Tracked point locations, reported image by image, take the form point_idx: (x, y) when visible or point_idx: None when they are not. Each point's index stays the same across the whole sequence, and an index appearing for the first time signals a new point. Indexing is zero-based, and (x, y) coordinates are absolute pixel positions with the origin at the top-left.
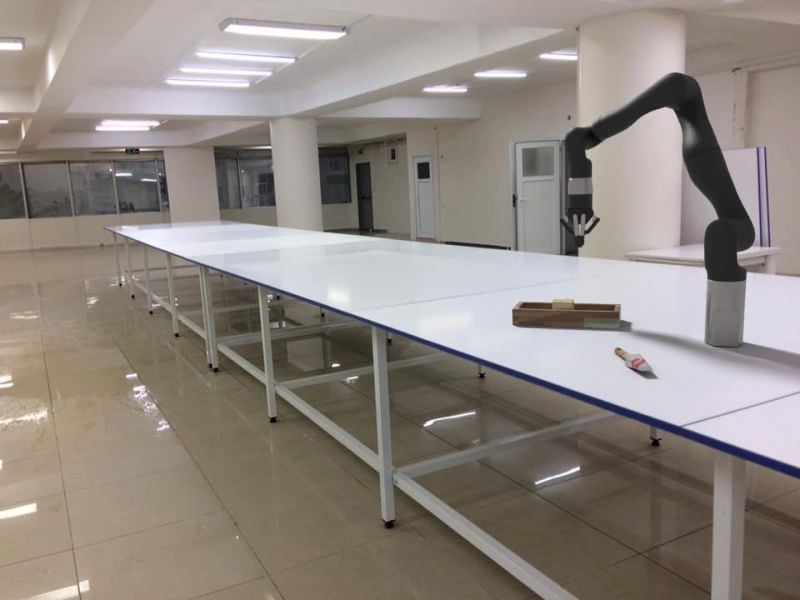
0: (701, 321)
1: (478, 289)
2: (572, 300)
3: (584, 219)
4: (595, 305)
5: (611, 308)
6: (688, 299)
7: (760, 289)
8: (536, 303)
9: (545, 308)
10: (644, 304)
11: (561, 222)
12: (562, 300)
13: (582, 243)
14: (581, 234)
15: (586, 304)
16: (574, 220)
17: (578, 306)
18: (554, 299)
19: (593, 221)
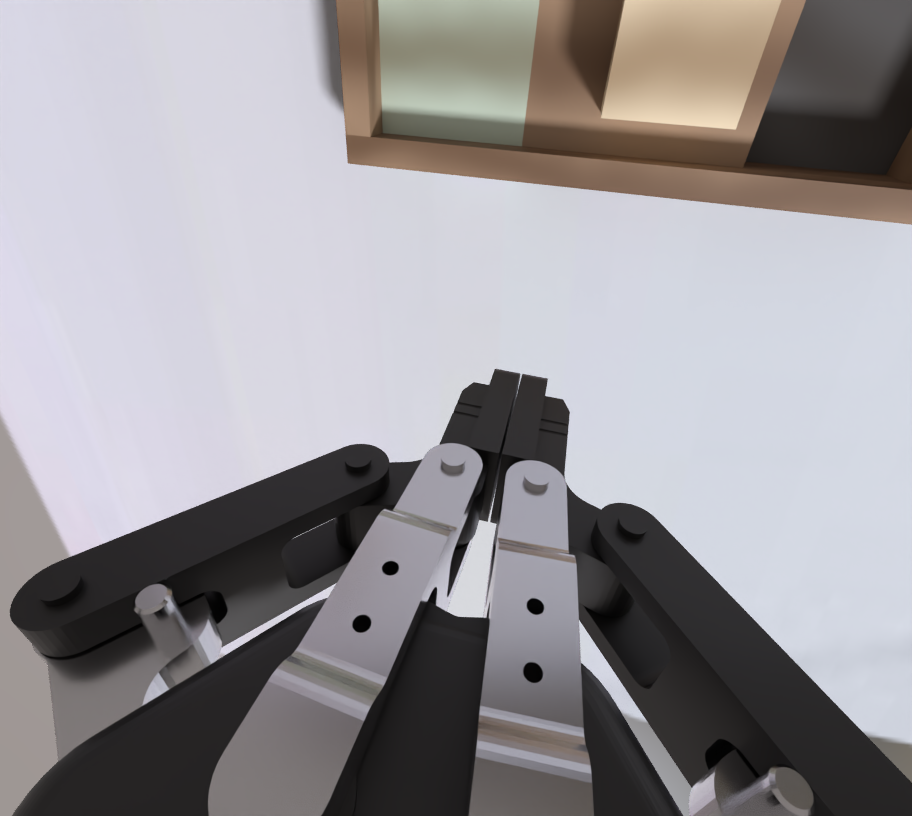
0: (94, 140)
1: (906, 691)
2: (616, 57)
3: (300, 662)
4: (474, 146)
5: (396, 137)
6: (222, 464)
7: (109, 534)
8: (840, 182)
9: (767, 171)
10: (324, 417)
11: (896, 782)
12: (690, 52)
13: (477, 396)
14: (463, 455)
15: (522, 151)
16: (558, 720)
17: (568, 154)
18: (744, 92)
19: (164, 584)
